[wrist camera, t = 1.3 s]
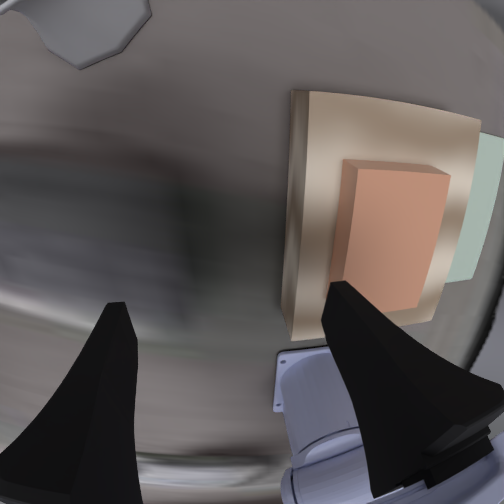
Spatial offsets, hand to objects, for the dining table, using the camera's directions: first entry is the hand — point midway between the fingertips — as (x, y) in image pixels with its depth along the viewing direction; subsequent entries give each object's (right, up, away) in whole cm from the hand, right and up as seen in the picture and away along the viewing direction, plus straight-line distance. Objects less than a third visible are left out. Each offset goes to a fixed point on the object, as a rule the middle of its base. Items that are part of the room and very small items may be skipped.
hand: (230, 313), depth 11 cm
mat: (+19, +6, +12) cm, 23 cm away
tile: (+8, +3, +7) cm, 12 cm away
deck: (+9, +5, +11) cm, 15 cm away
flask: (-9, +17, +3) cm, 19 cm away
